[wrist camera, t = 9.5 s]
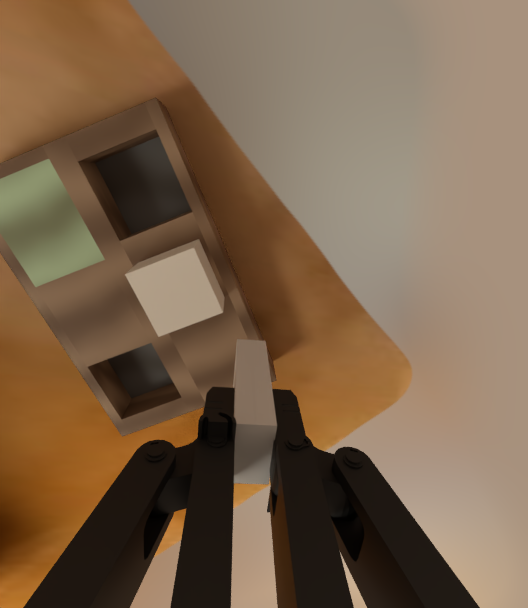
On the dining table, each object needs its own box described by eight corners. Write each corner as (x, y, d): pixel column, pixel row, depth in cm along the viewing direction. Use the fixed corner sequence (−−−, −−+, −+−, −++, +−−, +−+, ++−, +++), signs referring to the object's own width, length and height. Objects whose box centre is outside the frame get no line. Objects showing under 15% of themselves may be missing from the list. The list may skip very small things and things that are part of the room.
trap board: (272, 361, 41) (276, 380, 37) (132, 413, 42) (122, 436, 39) (165, 106, 31) (155, 97, 28) (-14, 182, 33) (-47, 182, 29)
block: (224, 297, 34) (223, 312, 30) (167, 319, 34) (158, 336, 30) (198, 238, 32) (193, 247, 28) (137, 262, 32) (124, 274, 28)
